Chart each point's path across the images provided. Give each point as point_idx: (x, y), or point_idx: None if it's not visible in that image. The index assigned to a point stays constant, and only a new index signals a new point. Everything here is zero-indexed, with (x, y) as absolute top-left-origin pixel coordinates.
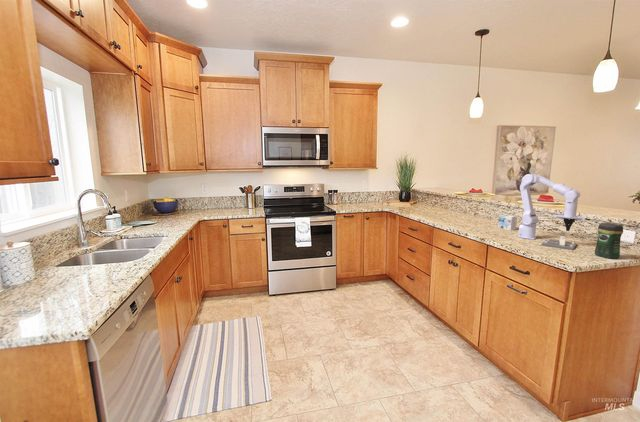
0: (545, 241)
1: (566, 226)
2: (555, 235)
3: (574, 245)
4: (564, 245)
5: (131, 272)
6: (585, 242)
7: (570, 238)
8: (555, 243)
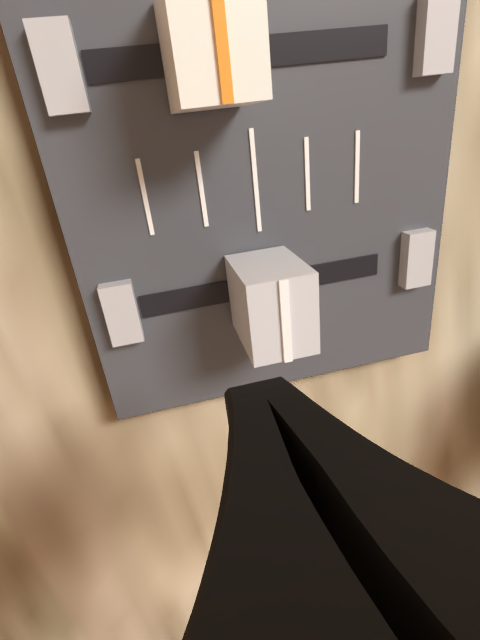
0: (449, 35)
1: (343, 439)
2: None
3: (59, 199)
4: (153, 2)
5: None
6: (107, 576)
7: None
8: (306, 93)
